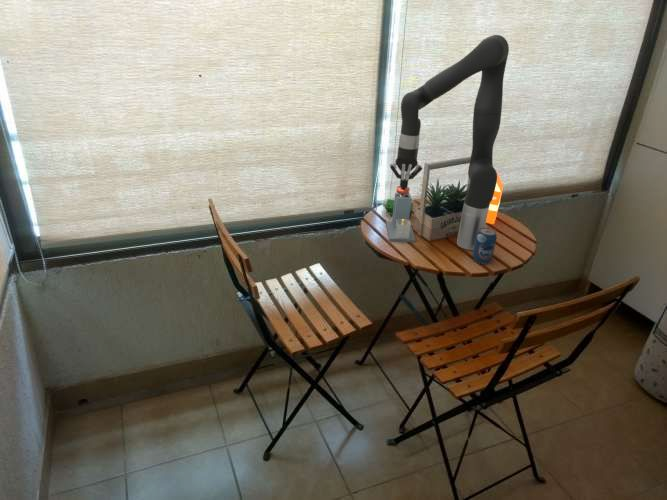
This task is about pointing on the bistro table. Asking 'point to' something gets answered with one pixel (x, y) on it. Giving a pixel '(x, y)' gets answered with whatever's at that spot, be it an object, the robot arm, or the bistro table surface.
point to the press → (400, 217)
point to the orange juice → (495, 202)
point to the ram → (402, 191)
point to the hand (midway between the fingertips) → (403, 188)
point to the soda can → (484, 245)
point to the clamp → (390, 207)
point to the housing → (402, 228)
